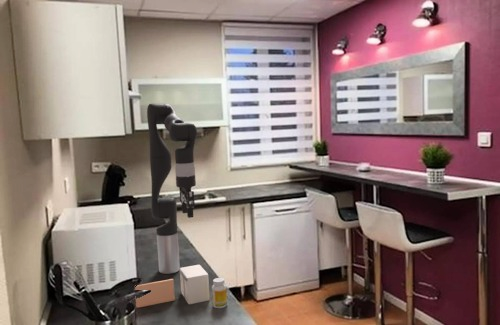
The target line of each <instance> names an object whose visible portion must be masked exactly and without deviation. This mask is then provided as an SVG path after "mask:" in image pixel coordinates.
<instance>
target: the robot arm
mask: <svg viewBox="0 0 500 325" xmlns="http://www.w3.org/2000/svg"><path fill="white" fill-rule="evenodd" d="M146 118H147V127H148V128H147V129H148V136H149V138H148V139H149V163H150V164H149V165H150V166H149V167H150V178H151V179H150V180H151V204H150V205H151V207H150V209H151V210H150V211H151V216H152V218H153V219H154V220H162V219H165V220H166V219H169V220H168V221H167V222H166V223H164V224H161V225H159V226H158V227H156V230H155V231H156V244H157V246H156V247H157V257H158V258H157V259H158V272H159V273H160V274H162V275H163V274H164V275H166V274H167V275H169V274H175V273H177V272H179V269H180V268H181V266H180V251H179V250H180V249H179V248H180V247H179V237H178V236H179V234H178V220H177V219H178V217H177V216H178V214H177V211H178V206H177V200H176V198H175V197H160V193H161V189H162V187H163V185H164V183H165V181H166V179H167V177H168V176H169V174H170V172H171V170H172V153H171V151H170V149H169V148H168V146H167V145H166V142H164V140H163V139H162V138H161V137H162V136H160V132H159V130H158V127H157V126H158V125H164V128H165V129H166V130H167V132H168V134H169V138H170V140H171V141H172V142H186V143H185V145H183V146H181V147H178V148H176V149H175V150H174V157H175V159H174V160H175V167H174V168H175V169H174V170H175V171H174V172H175V184H176V185H175V186H176V187H177V188H178V189H179V201H180V204H181V211H182V214H187V218H190V219H191V218H194V208H195V207H196V203H195V192H194V190H193V191H192V187H195V186H196V185H197V183H196V169H195V168H196V167H195V161H194V160H195V159H194V150H195V143H196V139H197V135H198V132H197V127H196V125H195V124H194V123H193V122H185V121H184V120H183V119H182V118H180V117H179V116H178V115H177V113H176V111H175V109H174V108H173V107H172V105H170V103H169V104H168V103H149V104H148V105H147V108H146Z"/></svg>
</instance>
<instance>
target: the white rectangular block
mask: <svg viewBox="0 0 500 325" xmlns="http://www.w3.org/2000/svg"><path fill="white" fill-rule="evenodd" d="M178 272H179V278H180V280H179V282H180V293H181V295H182V296H183V298H184V299H185V301H186V302H187V304H188V305H193V304H197V303H202V302H209V301H210V300H211V299H210V282H209V280H210V279H209V274H208V272H207V271H206V270H205V269H204V268H203V266H202V265H201V264H195V265H189V266H184V267H183V266H182V267H180V269H179V271H178Z"/></svg>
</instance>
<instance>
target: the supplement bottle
mask: <svg viewBox="0 0 500 325" xmlns="http://www.w3.org/2000/svg"><path fill="white" fill-rule="evenodd" d="M212 284H213V285H211V303H212V304H211V306H212V307H213V308H215V309H223V308H225V307H227V306H228V296H227V288H228V287H227V285H226V284H225V279H224V278H223V277H216V278H214V279H213V280H212Z"/></svg>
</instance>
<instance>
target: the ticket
mask: <svg viewBox="0 0 500 325" xmlns="http://www.w3.org/2000/svg"><path fill="white" fill-rule="evenodd" d="M136 285H137V286H136ZM136 285H135V286H136V287H135V286H134V291H135V290H151V292H150V293H148V294H146V295H144V296H142V297H140V298H137V299H136V298H135V307H136V308H143V307H147V306H152V305H153V306H154V305H157V304H161V303H167V302H171V301H175V300H176V299H175V298H176V297H175V283H174V278H169V279H165V280H159V281H153V282H147V283H142V284H136Z"/></svg>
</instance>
